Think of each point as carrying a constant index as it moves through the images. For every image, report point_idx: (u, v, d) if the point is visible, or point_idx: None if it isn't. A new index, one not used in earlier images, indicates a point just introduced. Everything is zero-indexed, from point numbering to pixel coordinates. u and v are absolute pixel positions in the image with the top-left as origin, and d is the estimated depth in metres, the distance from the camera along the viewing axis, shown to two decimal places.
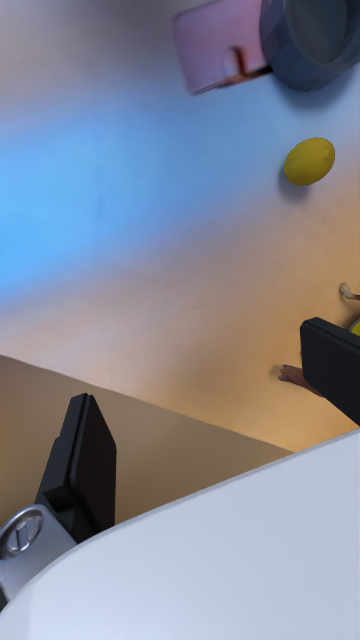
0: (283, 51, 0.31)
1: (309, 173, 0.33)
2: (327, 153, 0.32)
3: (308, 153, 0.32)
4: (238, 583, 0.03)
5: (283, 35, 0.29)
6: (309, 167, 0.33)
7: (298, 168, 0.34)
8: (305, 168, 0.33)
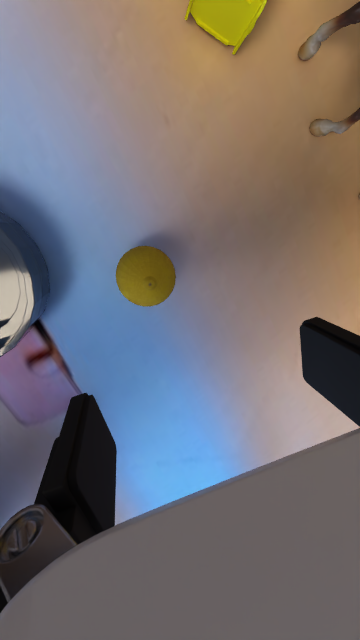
0: (24, 336, 0.24)
1: (168, 293, 0.23)
2: (148, 286, 0.20)
3: (144, 303, 0.22)
4: (239, 583, 0.03)
5: None
6: (162, 298, 0.22)
7: None
8: (162, 300, 0.23)
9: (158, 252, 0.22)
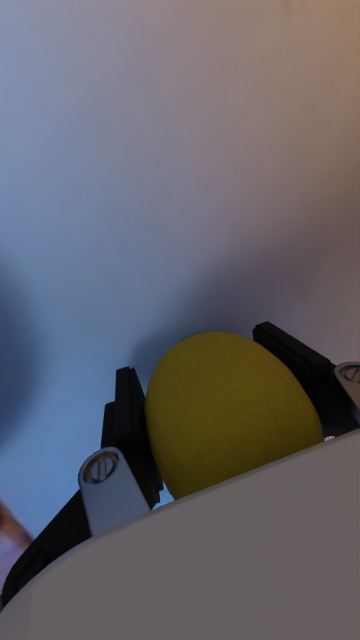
0: None
1: None
2: None
3: None
4: (238, 584, 0.03)
5: None
6: None
7: None
8: None
9: (282, 378, 0.07)
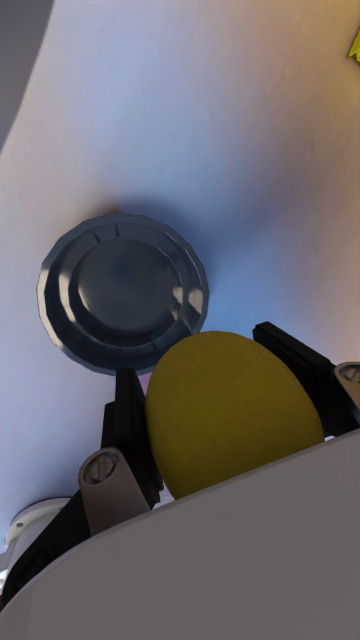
0: None
1: None
2: None
3: None
4: (239, 583, 0.03)
5: None
6: None
7: None
8: None
9: (283, 377, 0.07)
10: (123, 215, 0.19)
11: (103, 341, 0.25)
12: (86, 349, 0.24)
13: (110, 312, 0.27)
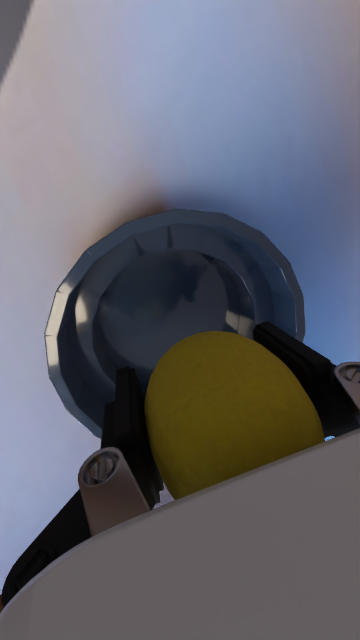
0: None
1: None
2: None
3: None
4: (239, 584, 0.03)
5: None
6: None
7: None
8: None
9: (282, 377, 0.07)
10: (192, 212, 0.12)
11: None
12: None
13: (146, 351, 0.19)
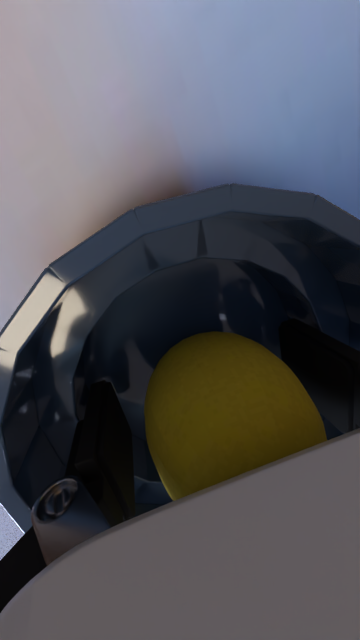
0: None
1: None
2: None
3: None
4: (239, 584, 0.03)
5: None
6: None
7: None
8: None
9: (285, 378, 0.07)
10: (259, 191, 0.06)
11: (146, 475, 0.12)
12: None
13: None
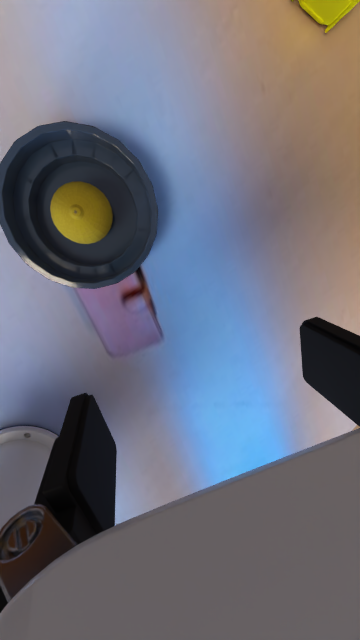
0: None
1: (100, 228, 0.23)
2: (73, 214, 0.21)
3: (75, 236, 0.23)
4: (239, 583, 0.03)
5: None
6: (93, 232, 0.23)
7: (94, 240, 0.24)
8: (95, 235, 0.23)
9: (90, 186, 0.23)
10: (74, 124, 0.21)
11: (63, 259, 0.27)
12: (45, 263, 0.26)
13: None
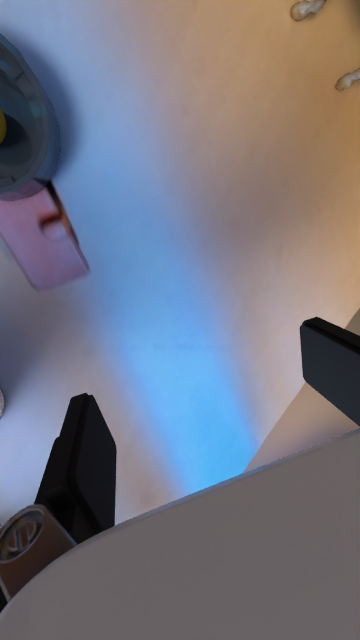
0: (39, 179, 0.28)
1: None
2: None
3: None
4: (239, 583, 0.03)
5: (28, 185, 0.27)
6: None
7: None
8: None
9: None
10: None
11: None
12: None
13: None
